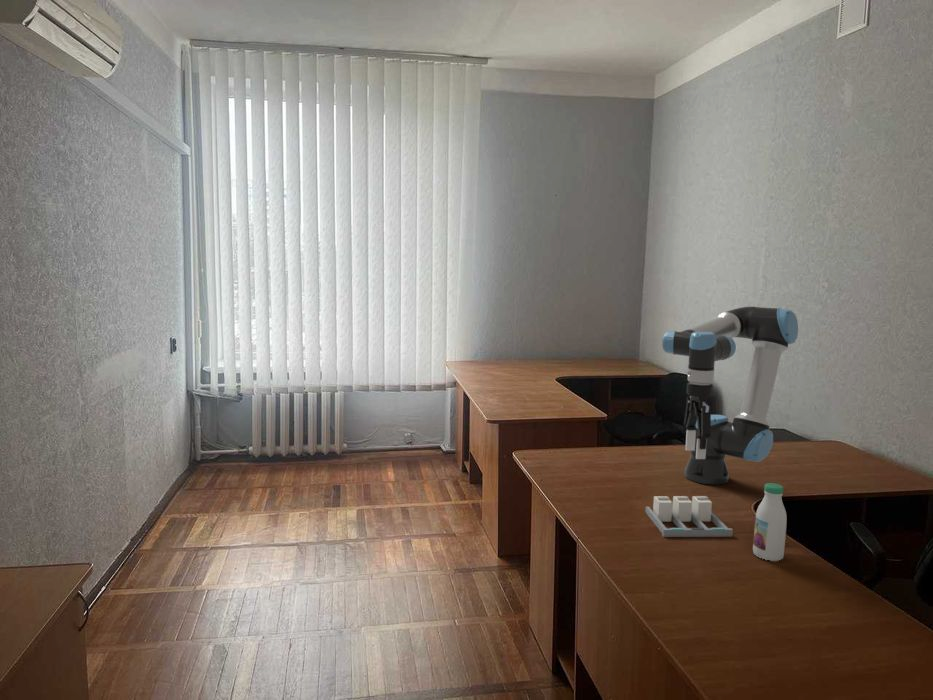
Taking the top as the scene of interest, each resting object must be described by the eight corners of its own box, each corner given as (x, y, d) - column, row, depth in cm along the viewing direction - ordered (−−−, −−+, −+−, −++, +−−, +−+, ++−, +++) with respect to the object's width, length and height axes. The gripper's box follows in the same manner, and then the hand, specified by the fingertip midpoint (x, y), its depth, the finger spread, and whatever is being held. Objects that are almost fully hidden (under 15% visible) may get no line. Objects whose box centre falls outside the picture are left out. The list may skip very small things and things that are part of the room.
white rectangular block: (703, 514, 206) (705, 494, 205) (710, 521, 201) (712, 500, 200) (691, 514, 206) (692, 494, 204) (697, 521, 201) (698, 500, 200)
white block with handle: (665, 514, 205) (666, 494, 204) (671, 521, 200) (672, 500, 199) (652, 515, 205) (654, 494, 204) (658, 521, 200) (659, 500, 199)
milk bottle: (781, 551, 184) (788, 482, 181) (785, 564, 177) (791, 492, 174) (751, 547, 187) (757, 479, 184) (753, 559, 180) (759, 488, 177)
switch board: (706, 516, 208) (707, 504, 208) (731, 541, 191) (732, 528, 190) (643, 516, 208) (644, 505, 207) (662, 541, 190) (663, 529, 189)
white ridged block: (684, 514, 205) (686, 494, 204) (690, 521, 200) (692, 500, 199) (672, 514, 205) (673, 494, 204) (677, 521, 200) (679, 500, 199)
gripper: (676, 376, 214) (671, 444, 218) (701, 389, 194) (696, 465, 197) (699, 376, 215) (694, 444, 218) (726, 389, 194) (720, 465, 198)
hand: (695, 454), depth 208 cm, fingers open, 8 cm apart
